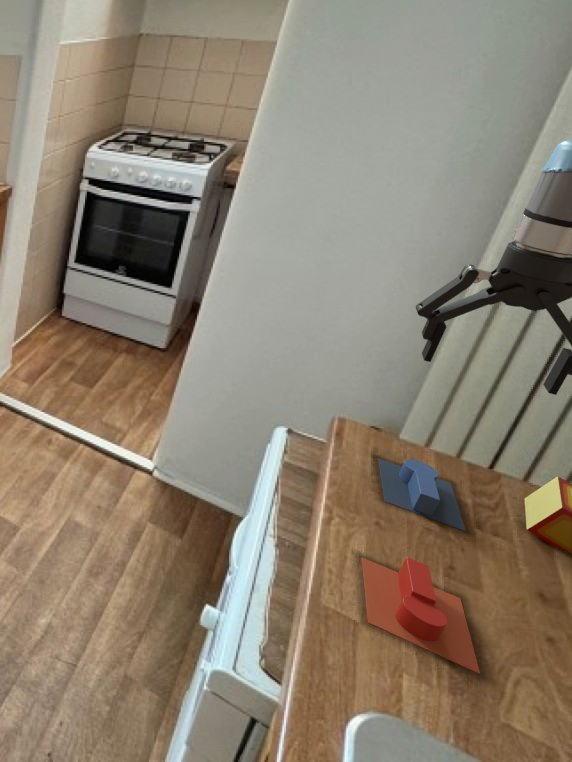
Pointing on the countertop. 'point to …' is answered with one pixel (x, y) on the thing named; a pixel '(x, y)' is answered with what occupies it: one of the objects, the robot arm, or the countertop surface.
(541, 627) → the countertop surface
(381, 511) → the countertop surface
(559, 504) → the baking soda box
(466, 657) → the terracotta mat
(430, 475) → the blue t-shaped piece
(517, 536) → the countertop surface
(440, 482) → the slate mat
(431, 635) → the red keyhole-shaped block
